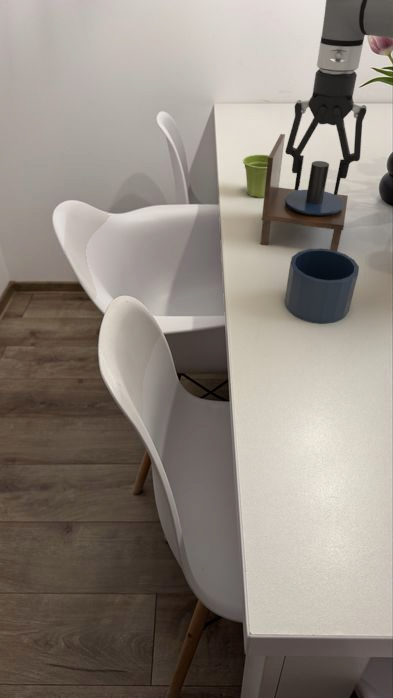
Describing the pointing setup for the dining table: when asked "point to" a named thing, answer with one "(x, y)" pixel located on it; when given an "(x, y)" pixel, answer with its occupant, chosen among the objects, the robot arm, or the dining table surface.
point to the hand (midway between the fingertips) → (316, 190)
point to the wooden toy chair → (281, 212)
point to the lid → (315, 194)
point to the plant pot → (256, 174)
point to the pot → (320, 285)
